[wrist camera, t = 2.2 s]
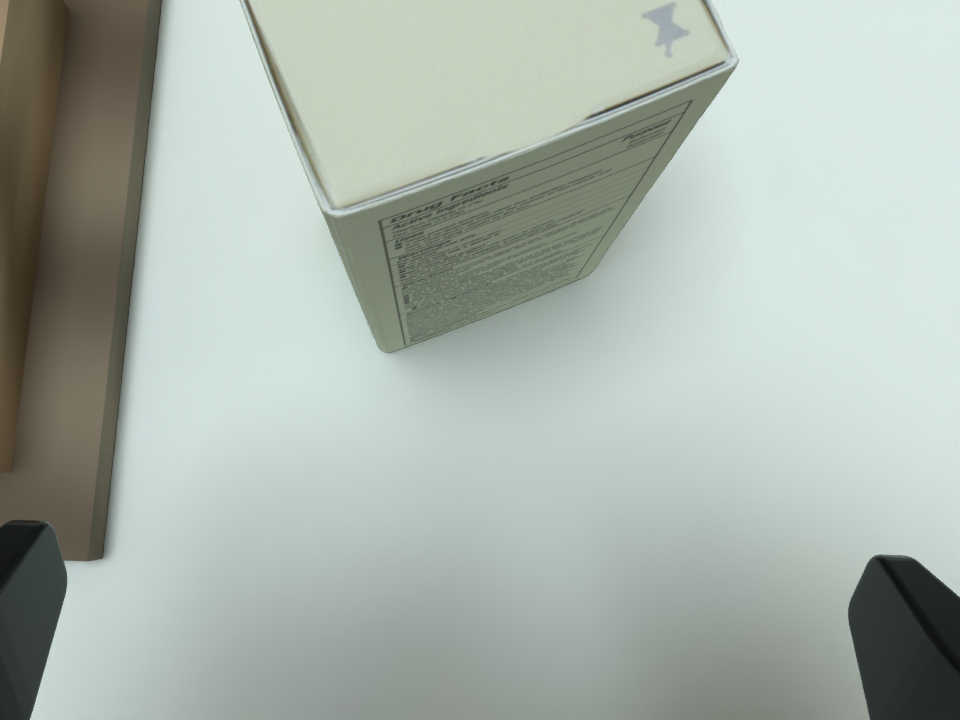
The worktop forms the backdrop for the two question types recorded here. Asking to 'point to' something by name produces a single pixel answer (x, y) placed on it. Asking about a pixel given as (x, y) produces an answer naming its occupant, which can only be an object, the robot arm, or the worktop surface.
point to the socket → (68, 250)
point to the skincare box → (482, 137)
